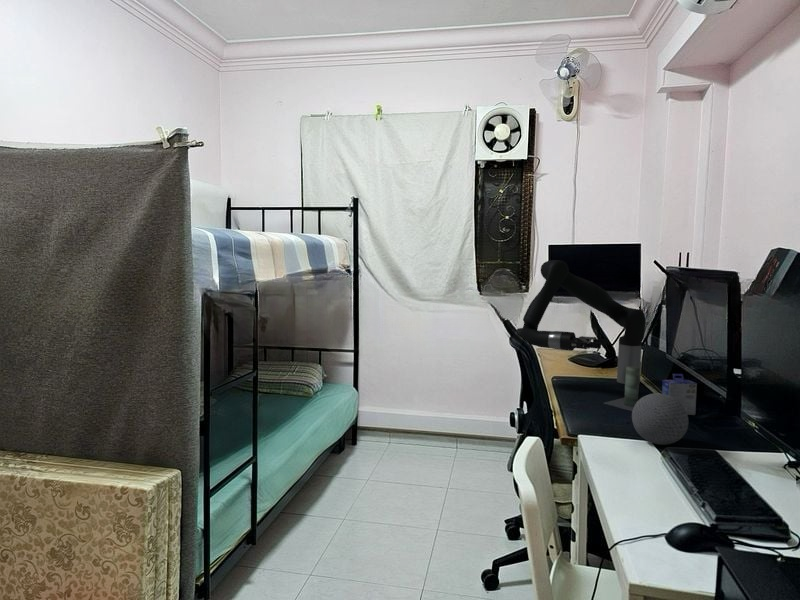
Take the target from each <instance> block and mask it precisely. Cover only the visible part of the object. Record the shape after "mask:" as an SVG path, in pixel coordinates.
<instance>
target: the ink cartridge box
mask: <svg viewBox="0 0 800 600" xmlns="http://www.w3.org/2000/svg"><path fill="white" fill-rule="evenodd" d="M678 376H679V377H678ZM697 387H698V383H697V382H695V381H692V380H690V379H685V378H684V374H683V373H672V379H663V380H662V383H661V388H662V389H661V394H666V395H669V396H671V397H673V398H675V399H676V400H678V401H679V402H680V403H681V404H682V405H683V407H684V408H685V410H686V412H687V415H688V416H689V415H690V416H696V409H697V408H696V407H697V406H696V405H697V390H698V388H697Z"/></svg>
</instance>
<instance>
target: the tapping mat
mask: <svg viewBox="0 0 800 600" xmlns="http://www.w3.org/2000/svg"><path fill="white" fill-rule="evenodd" d="M603 404H605V405H608V406H610V407H611V406H612V407H616V408H618V409H624V410H627V411H628V412H629V411H630V412H632V411H633V408H634V407H631V406H626V405H624V397H621V398H617V399H613V400H609V401H605V402H603Z"/></svg>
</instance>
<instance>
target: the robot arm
mask: <svg viewBox="0 0 800 600" xmlns="http://www.w3.org/2000/svg"><path fill="white" fill-rule="evenodd" d="M569 269H570V268H569V265H568V264H567V263H566V261H564V260H561V259H560V260H559V259H551V260H547V261H545V262H543V263H542V264H541V266H540V273H541V276H542V277H543V279H544V280H545V282H544V284H543V286H542V287H541V289H540V291H538V293H537V294H536V295H535V297H534V298H533V300H532V301H531V302H530V303H529V306H528V307H527V309H526V311H525V314H524V316H523V318H522V320H523V326H522V327H519V328H516V329H515V330H516V331H517V332H518V333H519V334H520V335H521V336H522V337H523V338H524V339H526V340H527V341H528V342H529V343H530V344H531V345H530V346H537V347H539V348H544V349H545V348H546V349H552V350H559V351H560V350H561V351H569V352H573V351H574V350H575V349H580V350H582V349H583V350H587V349H597V350H599V349H601V348H602V346H607V339H604V338H597V337H596V336H584V335H581V336H579V337H576V334H575V332H574V331H573V332H572V331H561V330H554V331H552V330H538V329H539V326H540V323H541V321H542V319H543V317H544V314H545V313H546V310H547V309H548V307H549V305H550V303H551V301H552V300H553V298H554V296H555V295H556V294H557V292H558V290H559V289H560V287H561V288H562V289H564V290H565V291H566V292H568V293H569V294H570V295H572V296H574V297H575V298H577V299H578V300H579V301H581V302H583V303H584V304H586V305H587V306H589V307H591V308H592V309H594V310H596V311H598V312H600V313H601V314H604V315H606V316H607V317H609V318H610V319H611V320H612V321H614V322H615V323H616V324H617V325H619V326H620V327H622V328H623V329H624V334H623V335H621V336H620V337H619V338H618V350H617V351H618V353H617V373H616V382H617V383H619V384H622V385H625V377H626V367H627V366H633V367H639V368H640V374H639V384H640V383H641V373H642V346H643V344H642V343H643V341H644V339H645V338H644V337H645V332H646V323H647V321H646V315H645V313H644V312H643V311H642V310H641V309H637V308H632V307H628V306H625V305H624V304H621V303H620V302H618V301H616V300H614V299H613V297H612V296H611V295H610V294H609V293H608V292H607V291H606V290H605V289H604V288H602V287H601V286H599V285H598V284H596V283H594V282H593V281H589V280H587V279H585V278H582V277H580V276H577V275H575V274H573V273H571V272H570V271H569Z"/></svg>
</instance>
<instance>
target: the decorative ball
mask: <svg viewBox="0 0 800 600" xmlns="http://www.w3.org/2000/svg"><path fill="white" fill-rule="evenodd" d="M631 420H632V421H631V422H632V425H633V428H634V429H635V431H636V433H637V434H638V435H639V436H640V437H641V438H643V439H644V440H645V441H647V442H649V443H651V442H652V444H655V445H660V446H665V445H666V446H667V445H671V444H675V443H676V442H678V441H680V440H681V439H682V438H683V437H684V436H685V434H686V433H687V431H688V427H689V415H687V412H686V410H685V408H684V407H683V405H682V404H681V403H680V402H679V401H678V400H676V399H675V398H673V397H671V396H669V395H666V394H662V392H661V393H658V392H655V393H649V394H647V395H644V396H642V397H640V398H639V399H638V401H637V403H636V404H635V406H634V408H633V411H631Z"/></svg>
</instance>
